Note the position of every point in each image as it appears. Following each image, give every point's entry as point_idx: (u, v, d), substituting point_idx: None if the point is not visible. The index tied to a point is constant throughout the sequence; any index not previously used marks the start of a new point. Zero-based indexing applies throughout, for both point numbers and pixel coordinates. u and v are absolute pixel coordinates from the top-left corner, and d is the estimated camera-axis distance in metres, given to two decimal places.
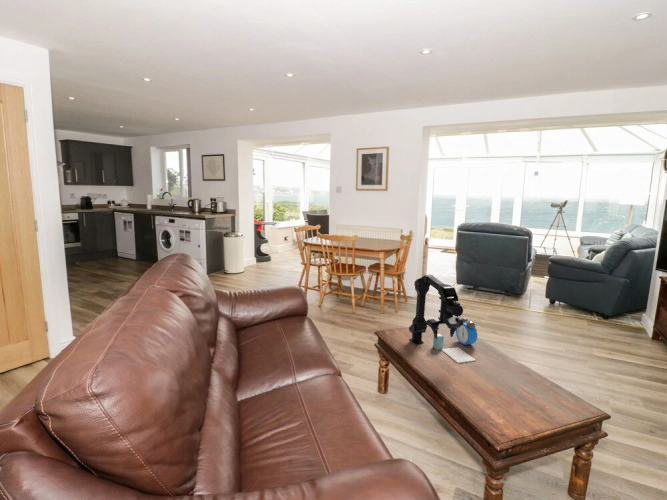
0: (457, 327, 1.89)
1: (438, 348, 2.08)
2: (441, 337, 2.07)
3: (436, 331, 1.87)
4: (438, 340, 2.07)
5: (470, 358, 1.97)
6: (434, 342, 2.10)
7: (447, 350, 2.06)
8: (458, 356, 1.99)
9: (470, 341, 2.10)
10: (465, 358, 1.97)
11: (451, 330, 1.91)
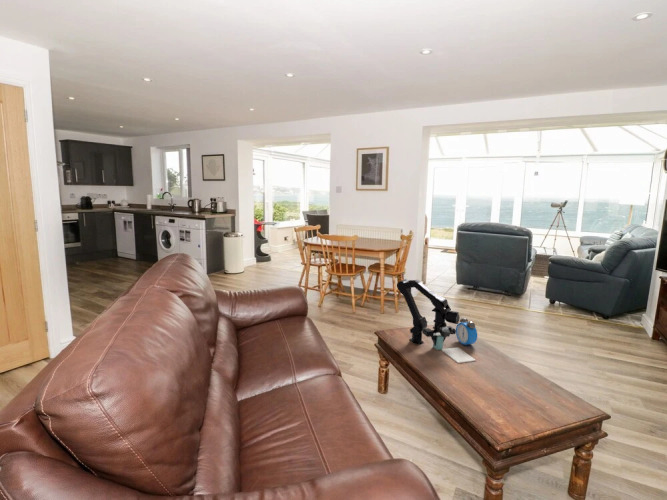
0: None
1: (438, 348, 2.08)
2: (441, 337, 2.07)
3: (435, 339, 2.07)
4: (438, 340, 2.07)
5: (470, 358, 1.97)
6: None
7: (447, 350, 2.06)
8: (458, 356, 1.99)
9: (470, 341, 2.10)
10: (465, 358, 1.97)
11: None
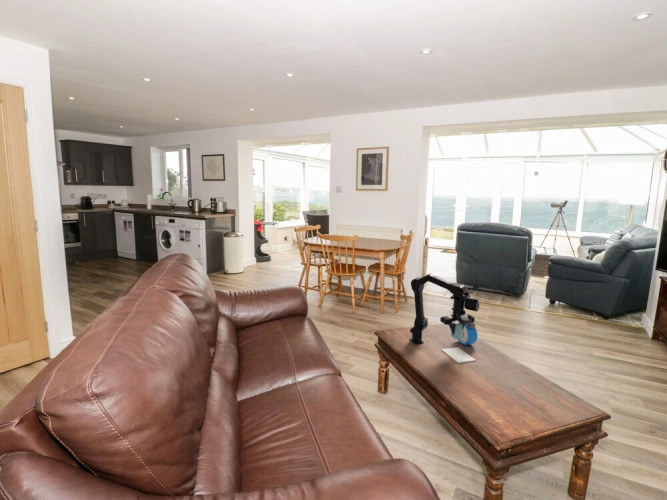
0: (465, 324, 2.00)
1: (456, 337, 2.00)
2: (460, 325, 1.99)
3: (453, 327, 1.99)
4: (457, 328, 1.99)
5: (470, 358, 1.97)
6: None
7: (447, 350, 2.06)
8: (458, 356, 1.99)
9: (470, 341, 2.10)
10: (465, 358, 1.97)
11: None
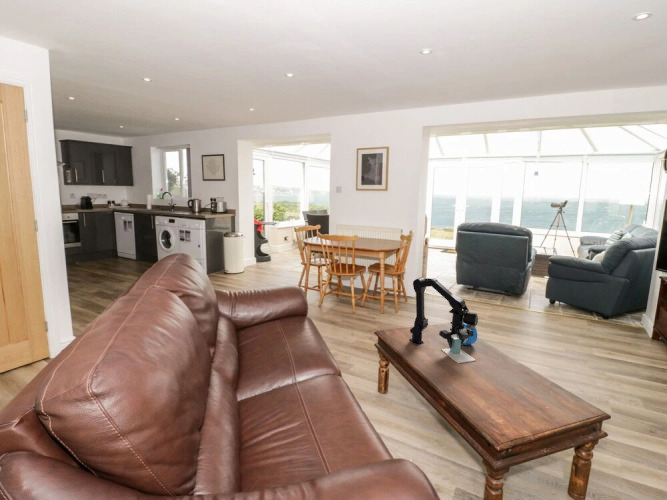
0: None
1: (455, 352, 2.02)
2: (458, 341, 2.01)
3: (451, 341, 2.00)
4: (455, 344, 2.01)
5: (470, 358, 1.97)
6: None
7: (447, 350, 2.06)
8: (458, 356, 1.99)
9: (470, 341, 2.10)
10: (465, 358, 1.97)
11: None
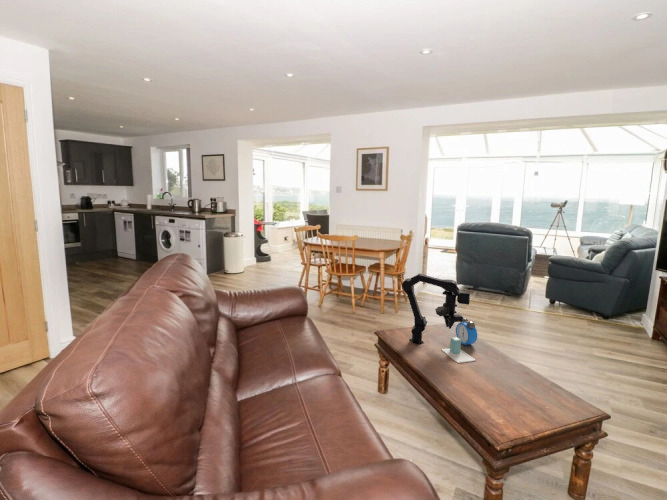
0: (448, 319, 2.05)
1: (455, 352, 2.02)
2: (458, 341, 2.01)
3: None
4: (455, 344, 2.01)
5: (470, 358, 1.97)
6: (451, 346, 2.04)
7: (447, 350, 2.06)
8: (458, 356, 1.99)
9: (470, 341, 2.10)
10: (465, 358, 1.97)
11: None
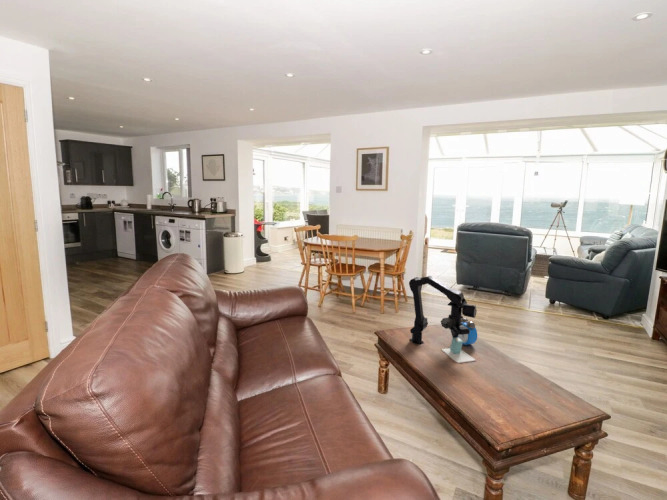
0: (453, 331, 2.01)
1: (455, 352, 2.02)
2: (460, 342, 2.00)
3: (451, 331, 2.04)
4: (457, 345, 2.00)
5: (470, 358, 1.97)
6: (452, 346, 2.03)
7: (447, 350, 2.06)
8: (458, 356, 1.99)
9: (470, 341, 2.10)
10: (465, 358, 1.97)
11: None
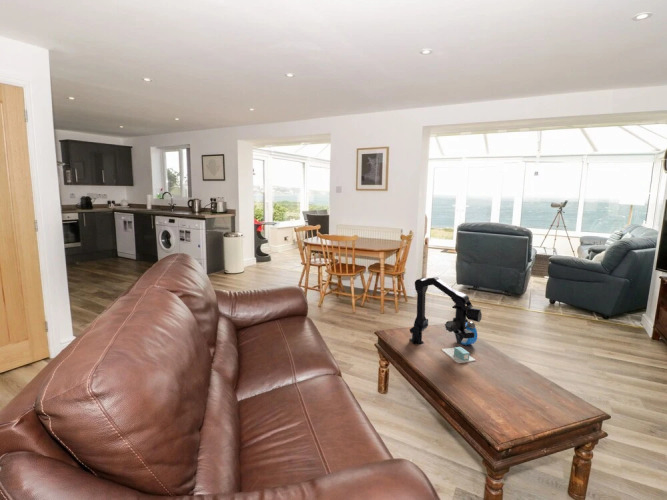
0: (457, 335, 1.97)
1: None
2: None
3: (455, 335, 2.00)
4: None
5: (470, 358, 1.97)
6: (457, 351, 1.98)
7: (447, 350, 2.06)
8: None
9: (470, 341, 2.10)
10: None
11: None
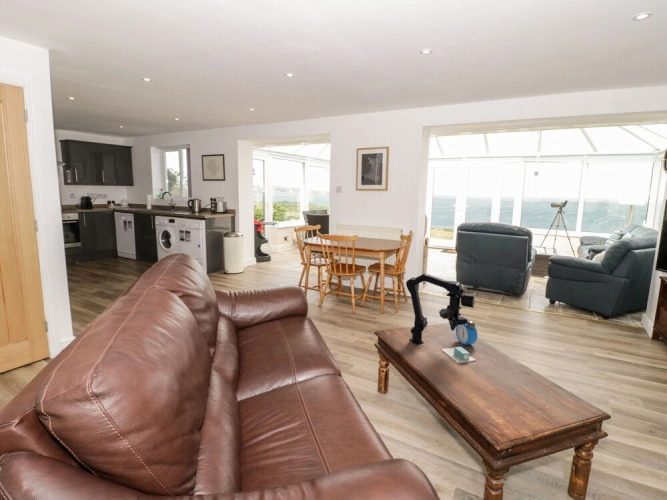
0: (451, 321, 2.02)
1: None
2: None
3: (449, 322, 2.06)
4: None
5: (470, 358, 1.97)
6: (457, 351, 1.98)
7: (447, 350, 2.06)
8: None
9: (470, 341, 2.10)
10: None
11: None
